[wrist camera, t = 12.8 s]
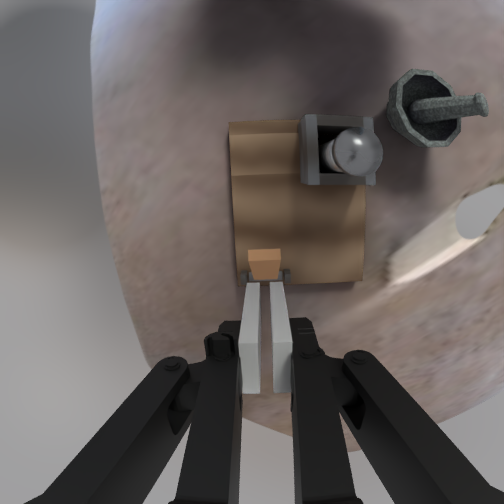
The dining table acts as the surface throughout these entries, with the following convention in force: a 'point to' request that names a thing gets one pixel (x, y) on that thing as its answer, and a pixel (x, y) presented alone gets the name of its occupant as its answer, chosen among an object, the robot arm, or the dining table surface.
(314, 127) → the hitch board
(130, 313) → the dining table surface
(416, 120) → the mortar and pestle
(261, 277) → the strip
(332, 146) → the pin
